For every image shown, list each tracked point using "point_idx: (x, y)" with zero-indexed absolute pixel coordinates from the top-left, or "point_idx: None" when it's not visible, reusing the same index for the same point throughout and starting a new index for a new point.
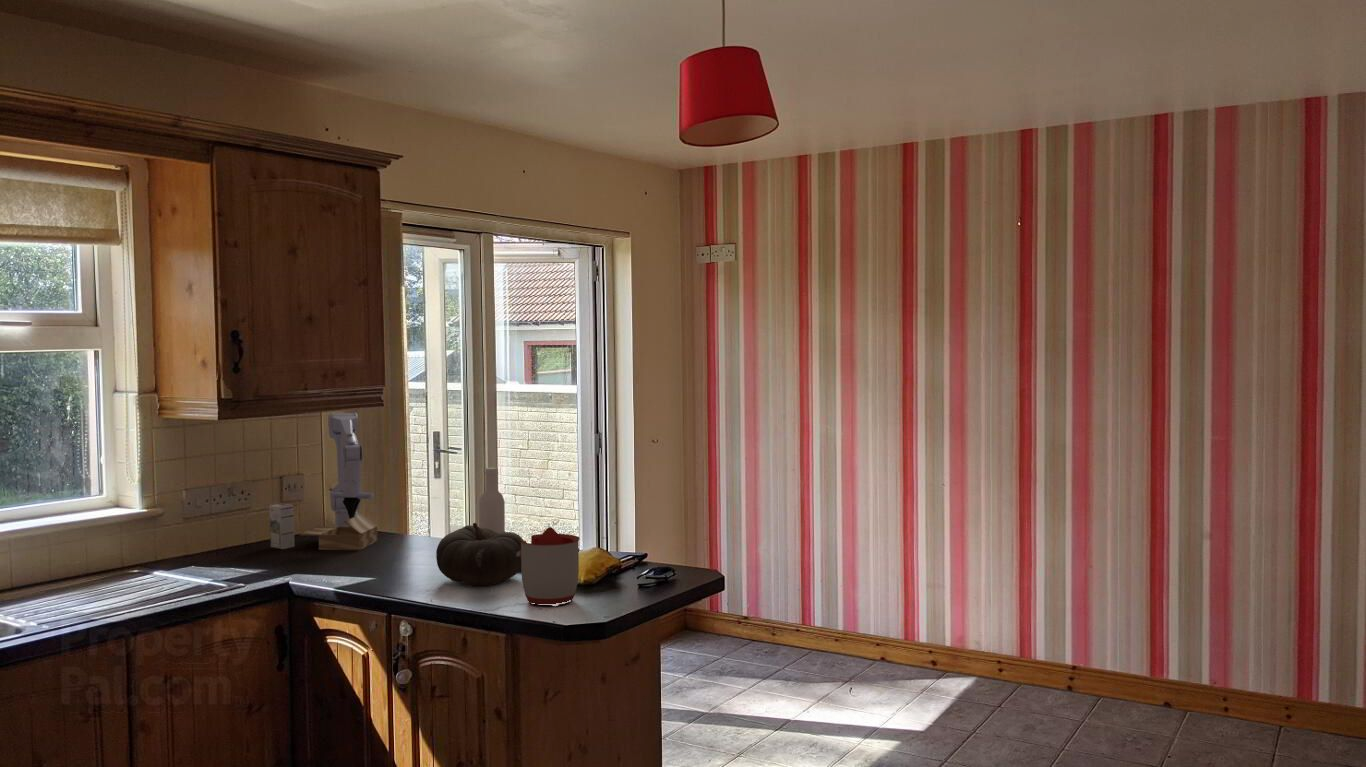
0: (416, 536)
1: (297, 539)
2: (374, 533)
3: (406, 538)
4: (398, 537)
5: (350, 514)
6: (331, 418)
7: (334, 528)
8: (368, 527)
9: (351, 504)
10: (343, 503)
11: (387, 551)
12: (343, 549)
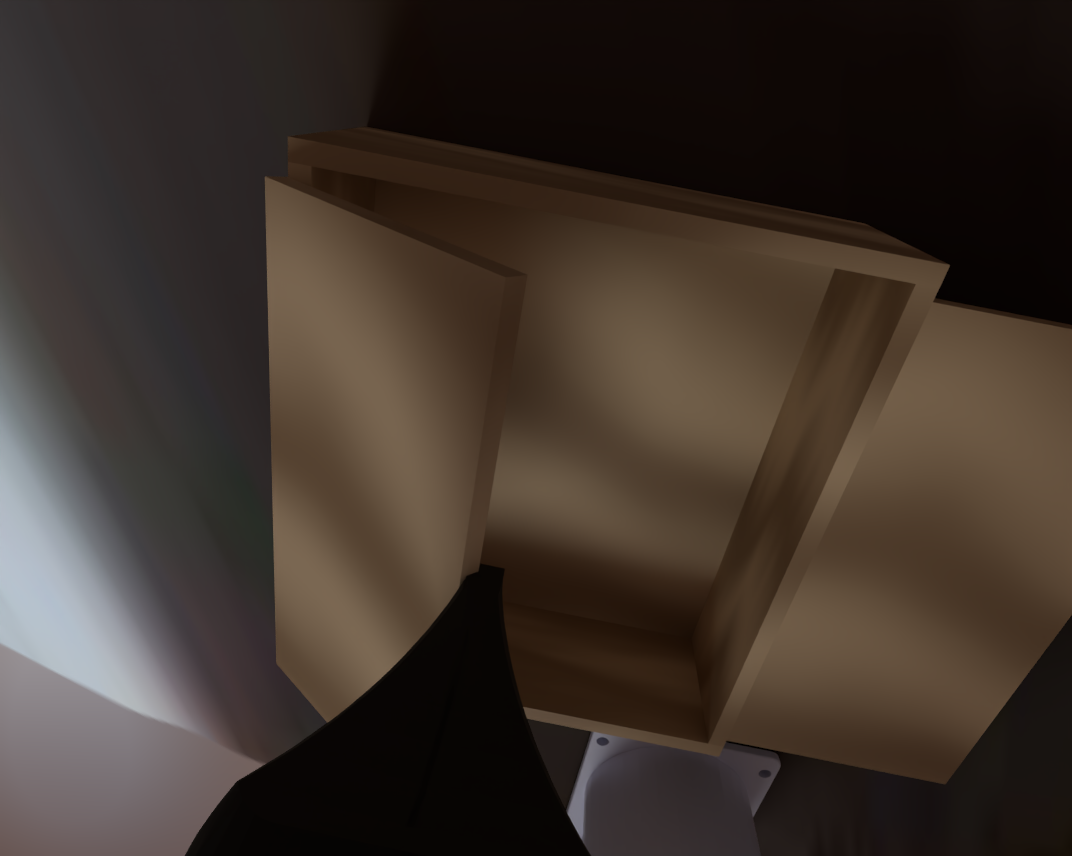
0: (119, 695)
1: (1067, 744)
2: None
3: (157, 642)
4: (238, 684)
5: (463, 621)
6: None
7: (747, 669)
8: (291, 523)
9: (355, 770)
10: (579, 837)
11: (6, 6)
12: (561, 164)
